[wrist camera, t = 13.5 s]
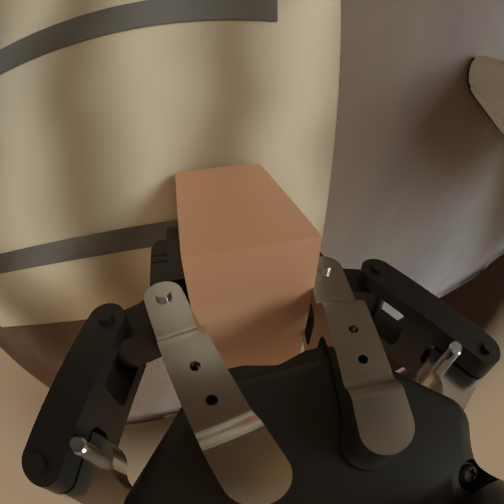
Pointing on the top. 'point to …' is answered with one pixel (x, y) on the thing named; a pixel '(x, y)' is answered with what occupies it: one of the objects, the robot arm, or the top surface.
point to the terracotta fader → (246, 262)
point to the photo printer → (489, 87)
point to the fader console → (146, 131)
